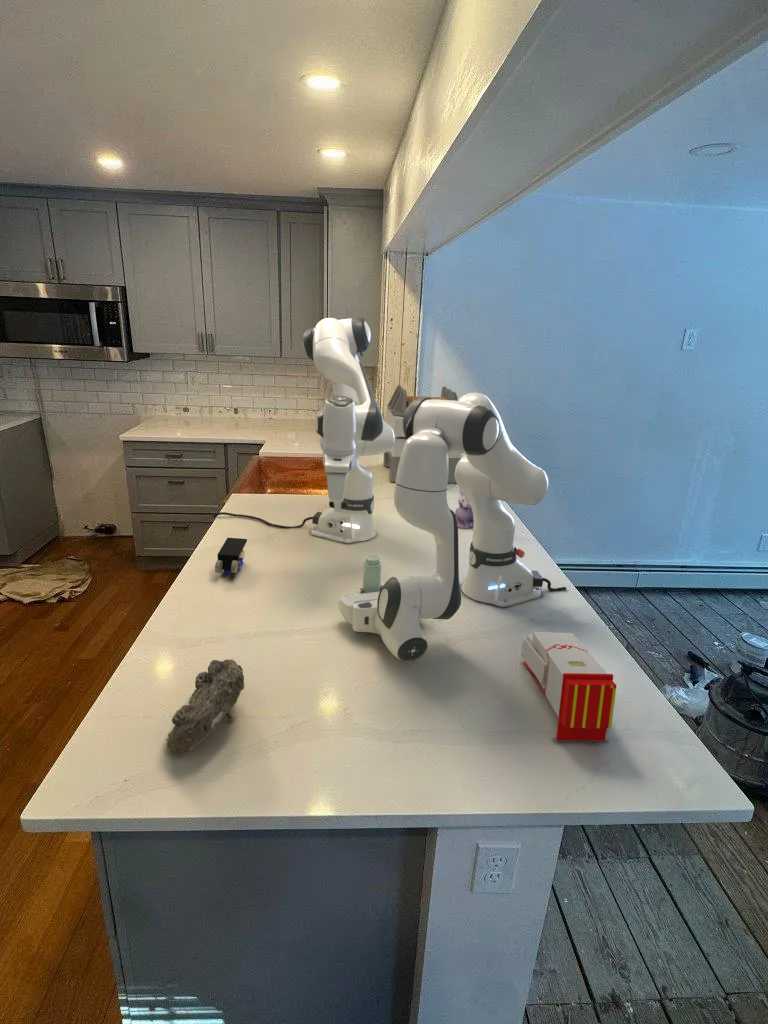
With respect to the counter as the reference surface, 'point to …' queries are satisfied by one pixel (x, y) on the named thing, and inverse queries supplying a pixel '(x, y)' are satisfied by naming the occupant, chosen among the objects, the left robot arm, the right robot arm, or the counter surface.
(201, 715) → the fossil
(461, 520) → the figurine
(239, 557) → the figurine character
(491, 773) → the counter surface
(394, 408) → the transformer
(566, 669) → the toy
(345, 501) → the lid
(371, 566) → the jar
